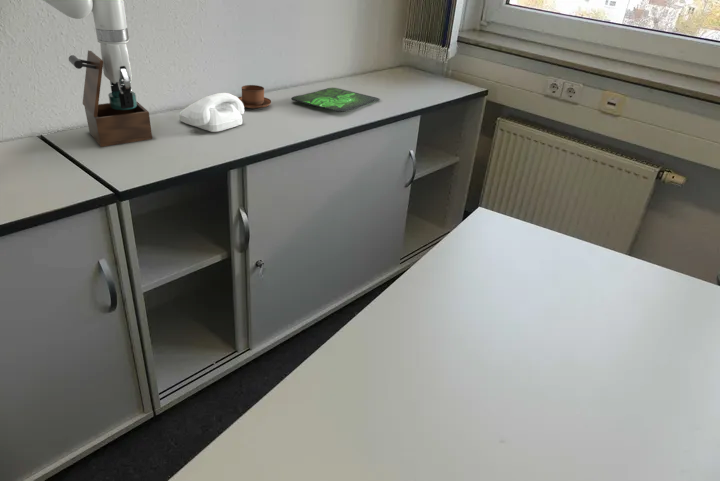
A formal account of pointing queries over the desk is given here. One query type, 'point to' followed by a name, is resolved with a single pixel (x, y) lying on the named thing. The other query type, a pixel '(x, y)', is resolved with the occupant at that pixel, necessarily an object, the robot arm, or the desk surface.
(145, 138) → the box
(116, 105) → the teal short cylinder
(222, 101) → the telephone
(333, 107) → the mouse mat
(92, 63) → the lid
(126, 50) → the robot arm
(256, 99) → the cup and saucer
